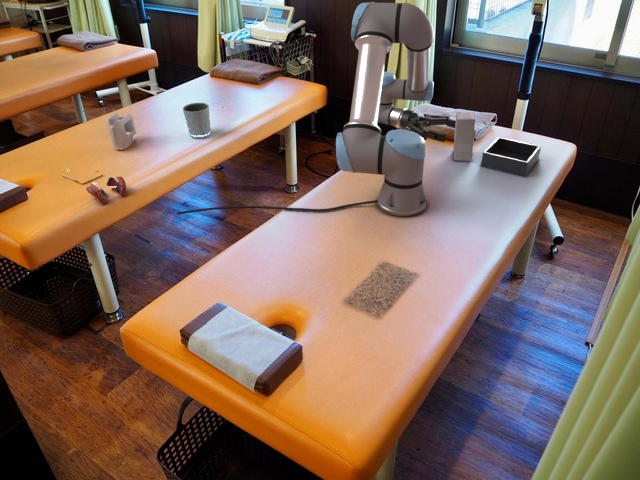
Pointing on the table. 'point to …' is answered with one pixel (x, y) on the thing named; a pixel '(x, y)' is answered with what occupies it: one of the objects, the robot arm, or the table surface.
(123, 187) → the teeth model
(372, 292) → the rug
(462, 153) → the cosmetic box
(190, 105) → the drinking glass
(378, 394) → the table surface
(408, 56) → the robot arm
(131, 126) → the cable organizer
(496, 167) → the box
